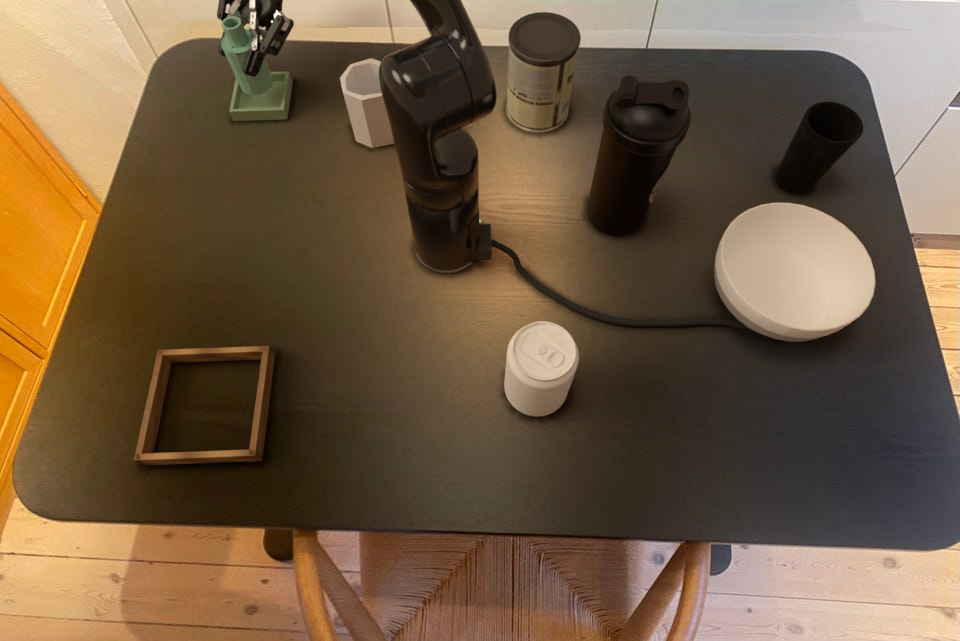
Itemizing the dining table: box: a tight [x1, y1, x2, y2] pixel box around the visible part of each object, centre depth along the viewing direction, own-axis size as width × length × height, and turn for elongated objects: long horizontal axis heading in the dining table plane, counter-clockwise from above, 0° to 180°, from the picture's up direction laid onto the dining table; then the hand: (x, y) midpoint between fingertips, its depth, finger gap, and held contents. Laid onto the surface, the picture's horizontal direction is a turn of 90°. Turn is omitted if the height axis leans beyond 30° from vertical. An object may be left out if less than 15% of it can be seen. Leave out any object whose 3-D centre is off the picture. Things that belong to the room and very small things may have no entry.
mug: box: [339, 57, 394, 149], centre depth 93 cm, size 12×9×10 cm
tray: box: [228, 70, 294, 122], centre depth 99 cm, size 9×9×2 cm
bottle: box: [220, 16, 273, 95], centre depth 92 cm, size 5×5×11 cm
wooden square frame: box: [133, 345, 276, 466], centre depth 75 cm, size 14×14×3 cm
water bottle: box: [586, 75, 692, 237], centre depth 79 cm, size 10×10×23 cm
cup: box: [774, 101, 864, 195], centre depth 87 cm, size 8×8×12 cm
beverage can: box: [503, 320, 580, 417], centre depth 72 cm, size 8×8×12 cm
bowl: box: [713, 202, 876, 342], centre depth 79 cm, size 19×19×9 cm
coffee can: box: [505, 11, 582, 134], centre depth 93 cm, size 10×10×14 cm
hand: (237, 64), depth 92 cm, fingers closed on bottle, 5 cm apart
